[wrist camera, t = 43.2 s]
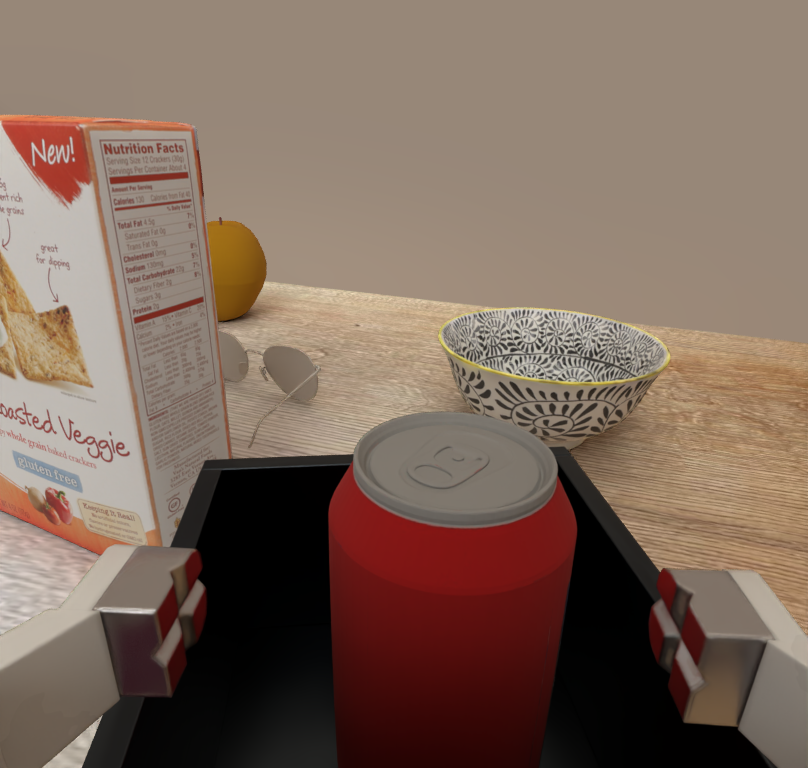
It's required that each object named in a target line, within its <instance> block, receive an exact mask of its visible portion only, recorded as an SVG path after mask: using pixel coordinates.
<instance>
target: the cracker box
mask: <svg viewBox="0 0 808 768" xmlns="http://www.w3.org/2000/svg"><path fill="white" fill-rule="evenodd" d="M215 459H232V450H231V441H230V432H229V422H228V413H227V404H226V395H225V385H224V376H223V367H222V359H221V350H220V340H219V331H218V321H217V312H216V303H215V294H214V285H213V276H212V267H211V258H210V249H209V239H208V230H207V222H206V213H205V203H204V193H203V183H202V173H201V165H200V157H199V148H198V141H197V131H196V127H194V126H193V125H190V124H185V123H177V122H155V121H151V120H134V119H117V118H115V119H114V118H92V117H69V116H38V115H0V510H2V511H4V512H6V513H8V514H11V515H13V516H15V517H17V518H19V519H21V520H24V521H26V522H28V523H31V524H33V525H35V526H37V527H39V528H42V529H44V530H46V531H48V532H51V533H53V534H55V535H57V536H59V537H61V538H64V539H66V540H68V541H70V542H72V543H75V544H77V545H79V546H81V547H83V548H86V549H88V550H90V551H92V552H94V553H97V554H99V555H102V554H103V552H104V551H105V550H106V549H107V548H108V547H110V546H112V545H114V544H121V545H138V546H142V545H144V546H160V547H170V546H171V543H172V541H173V538H174V535H175V533H176V530H177V528H178V525H179V523H180V520H181V518H182V515H183V513H184V510H185V508H186V505H187V503H188V500H189V498H190V495H191V493H192V490H193V488H194V485H195V483H196V480H197V478H198V475H199V473H200V471H201V469H202V466H203V464H204V461H205V460H215Z"/></svg>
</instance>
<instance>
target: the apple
mask: <svg viewBox="0 0 808 768" xmlns="http://www.w3.org/2000/svg"><path fill="white" fill-rule="evenodd" d="M207 230H208V239H209V249H210V258H211V267H212V276H213V285H214V294H215V303H216V312H217V321H225V320H230V319H234V318H237V317H240V316H242V315H244V314H245V313H246V312H247V311H249V309H250V308H251V307H252V305H253V304H254V302H255V300H256V298H257V297H258V295H259V293H260V291H261V289H262V287H263V284H264V281H265V278H266V260H265V256H264V253H263V250H262V248H261V246H260V244H259V242H258V240H257V238H256V237H255V235H254V234H253V233H252V232H251V230H250V229H248V228H247V227H245V226H244V225H243V224H242V223H239V222H236V221H222V220H221V217H220V218H219V221H211V222H208V223H207Z"/></svg>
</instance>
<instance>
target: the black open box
mask: <svg viewBox="0 0 808 768" xmlns="http://www.w3.org/2000/svg"><path fill="white" fill-rule="evenodd" d="M549 449H550V450H551V451H552V453H553V454H554V456H555V459H556V461H557V465H558V474H557V475H558V477H559V480H560V482H561V484H562V486H563V488H564V491H565V493H566V495H567V497H568V499H569V501H570V504H571V506H572V508H573V511H574V515H575V518H576V523H577V538H576V544H575V551H574V558H573V565H572V572H571V578H570V585H569V592H568V599H567V605H566V611H565V618H564V624H563V630H562V637H561V643H560V649H559V656H558V662H557V668H556V674H555V680H554V686H553V692H552V698H551V704H550V709H549V715H548V721H547V727H546V733H545V738H544V744H543V749H542V755H541V760H540V766H539V768H777V767H776V766H775V765H774V764H773V763H772V762H771V761H770V760H769V759H768V758H767V757H766V756H765V755H764V754H763V753H762V752H761V751H760V750H759V749H758V748H757V747H756V746H755V745H754V744H752V743H751V742H750V741H749V740H748V739H747V738H746V737H745V736H744V735H743V734H742V733H741V732H740V731H739V730H738V727H735V726H722V725H709V724H696V723H684V722H683V720H682V718H681V715H680V713H679V711H678V709H677V706H676V704H675V702H674V700H673V697H672V695H671V693H670V691H669V688H668V683H669V679H670V675H671V674H670V673H668V672H667V671H666V670H665V669H664V668H662V667H661V666H660V665H659V664H658V663H657V661H656V658H655V656H654V654H653V651H652V647H651V643H650V639H649V624H648V622H649V616H650V611H651V606H653V605H654V604H655V603H656V602H657V601H658V600H659V599H661V596H660V594H659V592H658V590H657V587H656V584H657V580H658V576H659V574H660V572H659V570H658V569H657V568H656V566H655V565H654V564H653V562H652V561H651V560H650V558H649V557H648V556H647V554H646V553H645V552H644V550H643V549H642V548H641V547H640V545H639V544H638V543H637V541H636V540H635V539H634V537H633V536H632V535H631V533H630V532H629V531H628V529H627V528H626V527H625V525H624V524H623V523H622V521H621V520H620V519H619V517H618V516H617V515H616V513H615V512H614V511H613V509H612V508H611V507H610V505H609V504H608V503H607V501H606V500H605V499H604V497H603V496H602V495H601V493H600V492H599V491H598V490H597V488H596V487H595V486H594V484H593V483H592V482H591V480H590V479H589V478H588V476H587V475H586V474H585V472H584V471H583V470H582V468H581V467H580V466H579V464H578V463H577V462H576V460H575V459H574V458H573V456H571V454H570V453H569V451H568V450H567V449H566V447H564V446H560V447H549ZM353 456H354V454H348V455H321V456H295V457H268V458H242V459H215V460H205V461H204V464H203V466H202V469H201V471H200V473H199V475H198V478H197V480H196V483H195V485H194V488H193V490H192V493H191V495H190V498H189V500H188V503H187V505H186V508H185V510H184V513H183V515H182V518H181V520H180V523H179V525H178V528H177V530H176V533H175V535H174V538H173V541H172V543H171V546H170V547H176V548H191V549H197V550H198V551H199V552H200V554H201V559H202V564H203V569H202V571H201V573H200V574H199V576H198V578H197V579H198V580H199V581H200V582H201V583H202V584H203V585H204V586H205V587H206V592H207V614H206V618H205V623H204V627H203V630H202V633H201V635H200V637H199V639H198V642H197V643H196V644H195V645H193V646H192V647H191V648H189V649H188V650H186V651H185V653H186V660H187V665H186V668H185V670H184V672H183V674H182V676H181V678H180V680H179V682H178V685H177V687H176V689H175V691H174V693H173V695H172V697H171V698H166V697H120V700H119V701H118V702H117V703H116V704H114V705H113V706H112V707H111V708H110V709H109V710H108V711H106V712H105V713H104V714H103V716H102V719H101V721H100V724H99V726H98V729H97V731H96V734H95V736H94V739H93V741H92V744H91V746H90V749H89V751H88V754H87V756H86V759H85V761H84V764H83V766H82V768H338V762H337V746H336V727H335V708H334V685H333V660H332V634H331V604H330V564H329V515H328V513H329V506H330V502H331V499H332V496H333V494H334V492H335V490H336V488H337V486H338V485H339V483H340V481H341V480H342V478H343V476H344V475H345V473H346V471H347V470H348V468H349V466H350V465H351V463H352V461H353Z"/></svg>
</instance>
